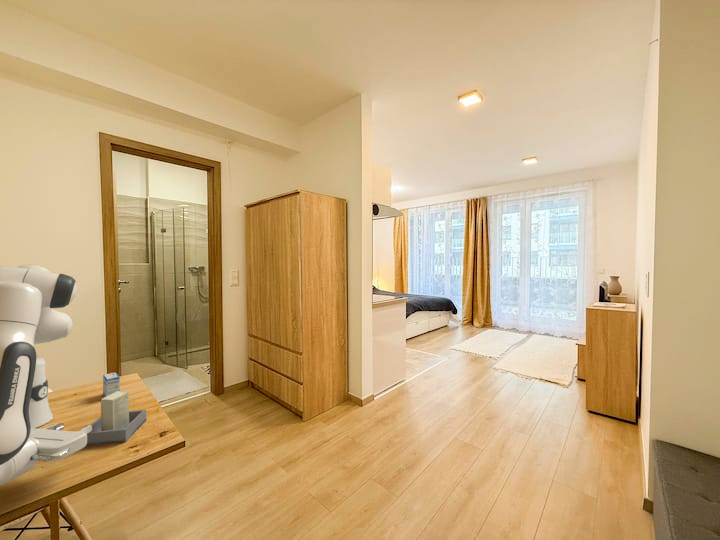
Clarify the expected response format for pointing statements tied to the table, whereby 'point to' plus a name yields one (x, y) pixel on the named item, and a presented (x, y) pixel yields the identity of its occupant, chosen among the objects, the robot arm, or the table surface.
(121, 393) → the skincare box
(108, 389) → the medicine box
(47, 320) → the robot arm
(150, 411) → the table surface
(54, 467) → the table surface
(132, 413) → the tray
